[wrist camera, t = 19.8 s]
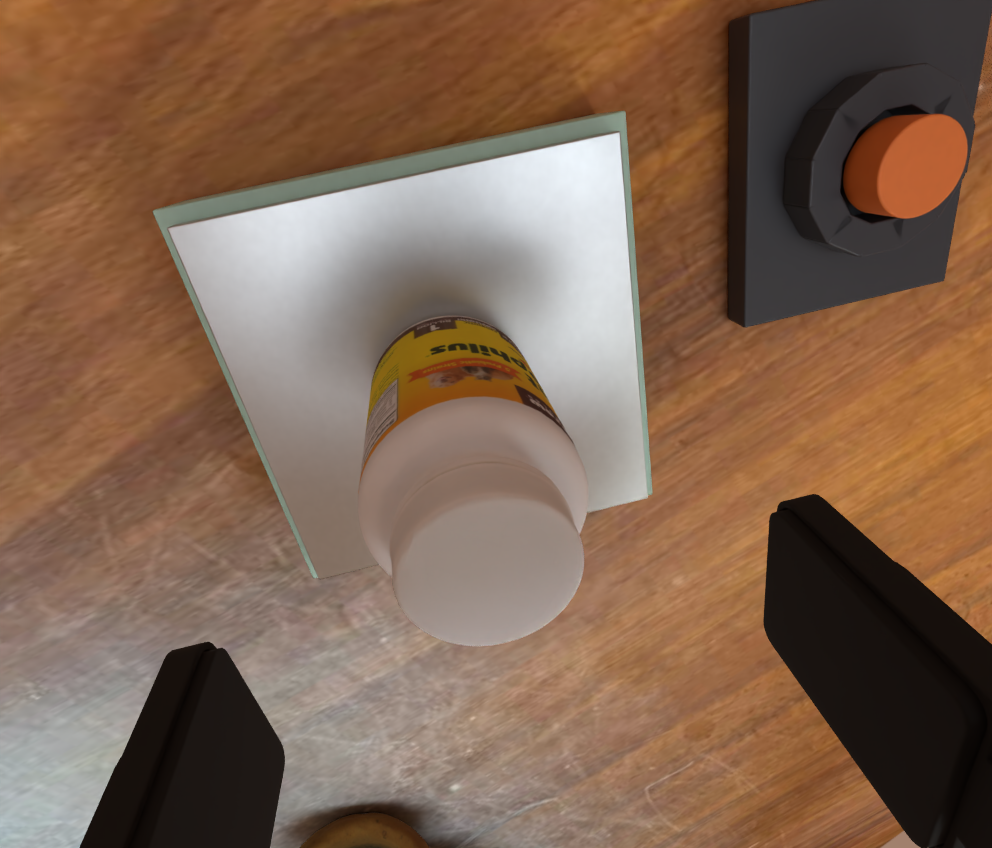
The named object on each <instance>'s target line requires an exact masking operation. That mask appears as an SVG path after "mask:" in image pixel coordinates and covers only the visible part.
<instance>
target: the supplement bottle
mask: <svg viewBox="0 0 992 848" xmlns="http://www.w3.org/2000/svg"><path fill="white" fill-rule="evenodd" d="M587 507H588V482H587V476H586V472H585V468H584V465H583V463H582V460H581V458H580V456H579V454H578V452H577V450H576V447H575V445H574V443H573V441H572V439H571V438H570V437H569V435H568V434H567V432H566V430H565V428H564V426H563V424H562V423H561V421H560V420H559V418H558V416H557V415H556V413H555V411H554V409H553V407H552V405H551V404H550V402H549V400H548V398H547V397H546V395H545V393H544V391H543V389H542V387H541V386H540V384H539V382H538V381H537V379H536V377H535V375H534V374H533V372H532V370H531V368H530V367H529V365H528V363H527V361H526V360H525V358H524V356H523V355H522V353H521V352H520V350H519V349H518V347H517V346H516V345H515V344H514V342H513V341H512V340H511V339H510V338H509V337H508V336H507V335H505V334H504V333H503V332H502V331H500V330H499V329H498V328H496V327H494V326H493V325H491V324H488V323H486V322H484V321H481V320H478V319H475V318H471V317H466V316H440V317H434V318H430V319H427V320H424V321H421V322H419V323H417V324H414V325H413V326H411V327H409V328H407V329H406V330H405V331H403V332H402V333H401V334H399V335H398V336H397V337H396V338H395V339H394V340H393V341H392V342H391V343H390V344H389V345H388V347H387V348H386V349H385V351H384V352H383V354H382V355H381V357H380V359H379V361H378V363H377V366H376V369H375V372H374V375H373V379H372V384H371V392H370V400H369V408H368V417H367V425H366V434H365V442H364V451H363V458H362V467H361V474H360V483H359V491H358V516H359V523H360V528H361V531H362V535H363V538H364V540H365V543H366V545H367V547H368V549H369V551H370V552H371V554H372V556H373V557H374V559H375V560H376V561H377V562H378V564H379V565H380V566H381V567H382V568H383V569H384V570H385V571H386V572H387V573H388V574H389V575H390V576H391V577H392V585H393V590H394V594H395V597H396V599H397V602H398V604H399V606H400V608H401V609H402V611H403V613H404V614H405V615H406V616H407V618H408V619H409V620H410V621H411V622H412V623H413V624H414V625H415V626H417V627H418V628H419V629H421V630H422V631H424V632H425V633H427V634H429V635H431V636H433V637H435V638H437V639H440V640H442V641H445V642H449V643H453V644H459V645H465V646H490V645H497V644H502V643H506V642H510V641H513V640H517V639H520V638H522V637H525V636H527V635H529V634H531V633H533V632H535V631H537V630H539V629H541V628H542V627H544V626H545V625H546V624H548V623H549V622H551V621H552V620H553V619H554V618H555V617H557V616H558V615H559V614H560V613H561V612H562V611H563V610H564V609H565V607H566V606H567V605H568V603H569V602H570V601H571V599H572V598H573V596H574V595H575V593H576V591H577V589H578V586H579V584H580V582H581V578H582V574H583V569H584V550H583V545H582V541H581V538H580V535H579V534H580V532H581V530H582V527H583V525H584V522H585V518H586V514H587Z"/></svg>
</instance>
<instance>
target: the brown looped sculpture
mask: <svg viewBox="0 0 992 848" xmlns="http://www.w3.org/2000/svg"><path fill="white" fill-rule="evenodd" d="M300 848H430V847H429V846H428V845H427V843H426V842H425V840H424V839H423V838H422V837H421V836H420V835H419V834H418V833H417V832H416V831H415V830H414V829H413V828H411V827H410V826H409V825H407V824H406V823H404V822H402V821H400V820H399V819H396V818H394V817H392V816H389V815H386V814H382V813H366V814H352V815H349V816H345V817H343V818H340V819H337V820H335V821H333V822H331V823H330V824H328V825H326V826H325V827H323V828H321V829H320V830H318V831H317V832H316V833H314V834H313V835H312V836H311V837H310V838H308V839H307V840H306V841H305V842H304V843H303V845H302V846H301V847H300Z"/></svg>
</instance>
